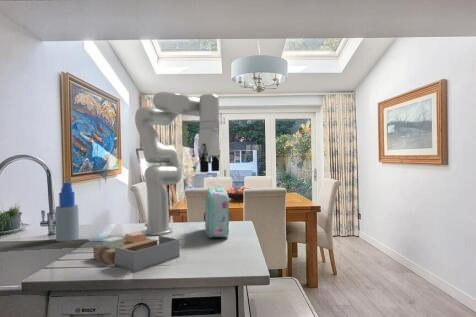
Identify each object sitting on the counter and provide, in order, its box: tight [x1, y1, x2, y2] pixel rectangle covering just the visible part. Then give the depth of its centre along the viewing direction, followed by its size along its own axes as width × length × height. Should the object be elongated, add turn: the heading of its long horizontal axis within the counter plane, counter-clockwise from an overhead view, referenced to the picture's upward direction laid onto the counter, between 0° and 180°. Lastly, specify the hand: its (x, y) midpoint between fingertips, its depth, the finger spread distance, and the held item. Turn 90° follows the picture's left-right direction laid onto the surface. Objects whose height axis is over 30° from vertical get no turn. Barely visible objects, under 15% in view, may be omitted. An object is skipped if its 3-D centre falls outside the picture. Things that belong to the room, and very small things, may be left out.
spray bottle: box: [54, 182, 80, 242], centre depth 137 cm, size 9×9×25 cm
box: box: [114, 235, 181, 273], centre depth 103 cm, size 11×18×6 cm, turn 143°
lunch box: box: [203, 185, 230, 238], centre depth 141 cm, size 27×10×21 cm, turn 9°
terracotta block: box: [125, 231, 146, 243], centre depth 115 cm, size 5×5×2 cm
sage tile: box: [102, 236, 125, 249], centre depth 108 cm, size 5×5×2 cm
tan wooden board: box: [93, 237, 159, 266], centre depth 111 cm, size 12×18×4 cm, turn 143°
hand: (210, 171), depth 119 cm, fingers open, 9 cm apart
